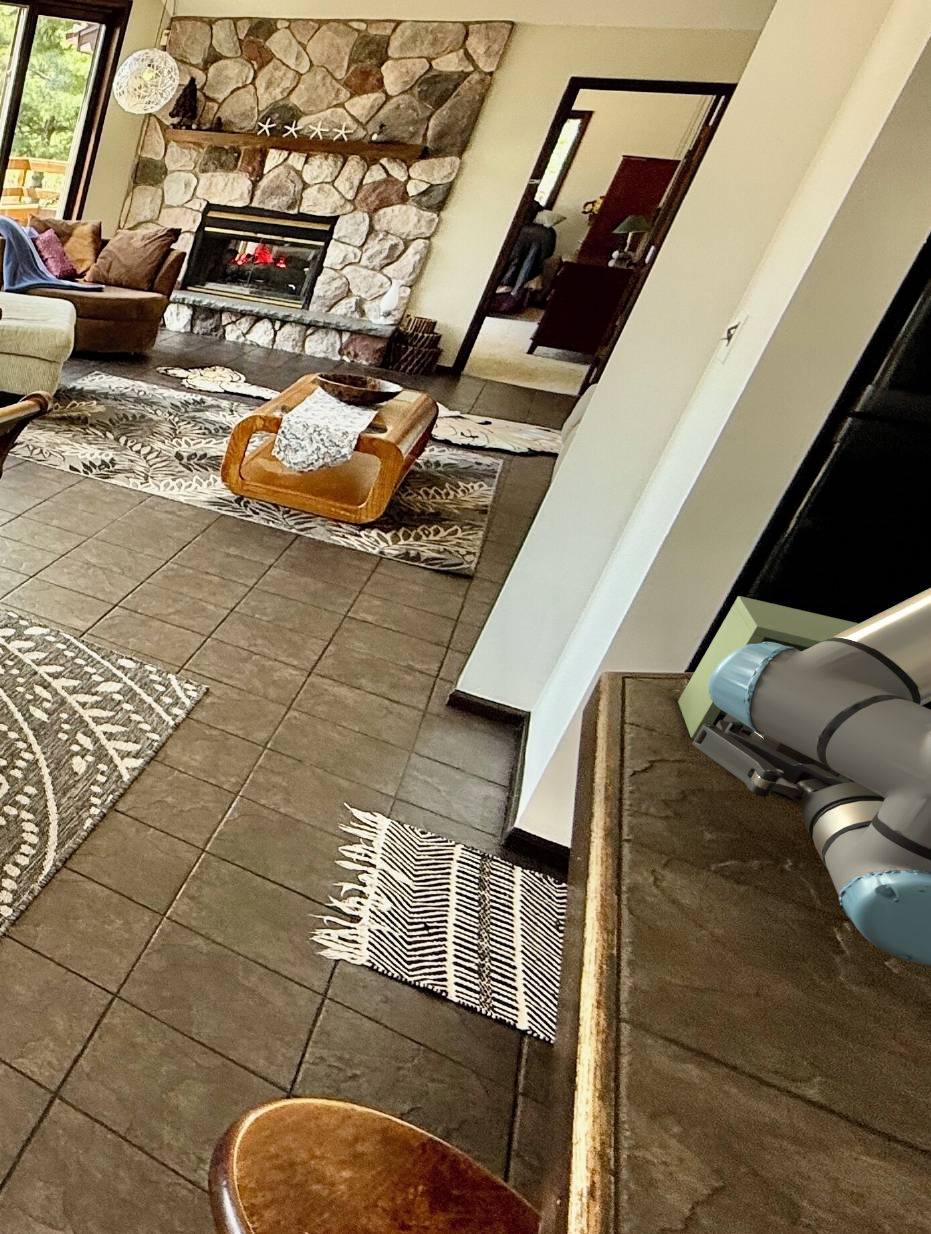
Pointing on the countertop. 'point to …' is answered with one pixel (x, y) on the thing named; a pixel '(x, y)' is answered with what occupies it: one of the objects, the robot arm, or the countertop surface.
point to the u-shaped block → (752, 627)
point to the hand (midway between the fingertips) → (820, 743)
